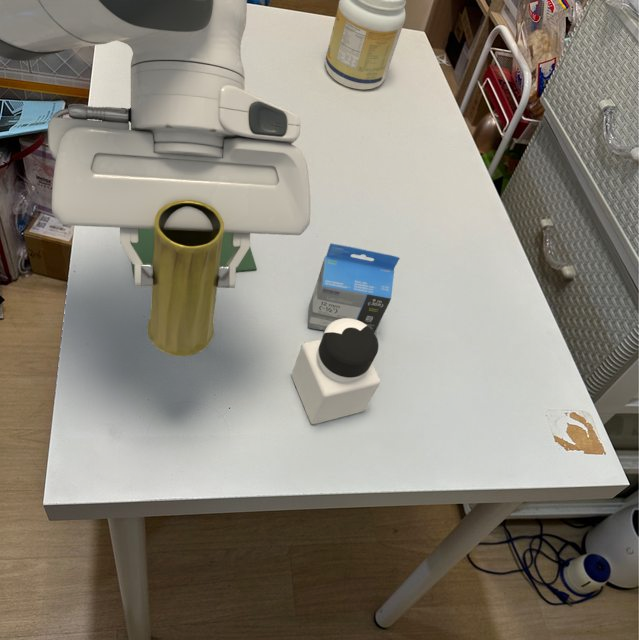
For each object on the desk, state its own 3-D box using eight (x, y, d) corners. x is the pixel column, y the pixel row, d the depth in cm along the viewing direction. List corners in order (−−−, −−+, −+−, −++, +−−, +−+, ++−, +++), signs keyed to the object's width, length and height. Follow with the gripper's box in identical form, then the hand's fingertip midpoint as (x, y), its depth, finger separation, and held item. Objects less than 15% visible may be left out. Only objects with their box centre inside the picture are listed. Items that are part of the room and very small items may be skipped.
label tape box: (306, 328, 78) (328, 266, 69) (308, 304, 81) (329, 240, 71) (371, 340, 79) (402, 280, 70) (372, 316, 82) (401, 255, 72)
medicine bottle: (364, 411, 73) (396, 358, 63) (310, 426, 70) (335, 372, 60) (342, 362, 76) (369, 305, 67) (290, 374, 73) (310, 316, 64)
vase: (217, 309, 59) (234, 202, 48) (209, 362, 56) (225, 259, 44) (154, 299, 58) (156, 188, 47) (141, 352, 55) (140, 244, 43)
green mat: (134, 281, 77) (134, 279, 76) (121, 203, 84) (121, 201, 84) (256, 270, 82) (256, 268, 82) (234, 198, 89) (234, 196, 89)
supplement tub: (340, 48, 122) (362, -41, 108) (393, 74, 120) (423, -13, 107) (312, 73, 114) (333, -19, 101) (369, 100, 113) (398, 11, 100)
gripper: (39, 92, 42) (44, 288, 45) (320, 119, 48) (312, 293, 50) (53, 108, 48) (56, 280, 51) (301, 131, 54) (294, 285, 56)
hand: (185, 286), depth 50 cm, fingers closed on vase, 5 cm apart
